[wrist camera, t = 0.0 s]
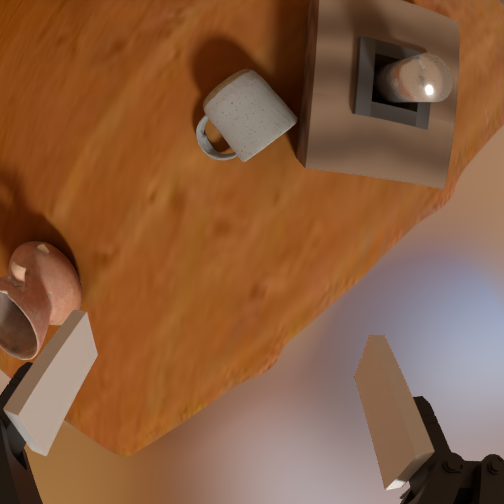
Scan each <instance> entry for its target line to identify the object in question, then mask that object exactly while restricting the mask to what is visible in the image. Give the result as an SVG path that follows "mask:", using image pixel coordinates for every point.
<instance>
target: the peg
mask: <svg viewBox="0 0 504 504" xmlns="http://www.w3.org/2000/svg"><path fill="white" fill-rule="evenodd" d="M373 84H374V88H375V90H376V92H377V94H378V95H379V96H380V97H381V98H382V99H384V100H386V101H388V102H440V101H443V100H444V99H446V98H447V97H448V96H449V94H450V92H451V89H452V76H451V73H450V70H449V68H448V66H447V65H446V64H445V62H444V61H443V60H442V59H440V58H439V57H438V56H436V55H433V54H430V53H424V54H420V55H416V56H413V57H409V58H406V59H403V60H400V61H396V62H393V63H390V64H387V65H384V66H381V67H380V68H378V69H377V70H376V72H375V74H374V78H373Z"/></svg>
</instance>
